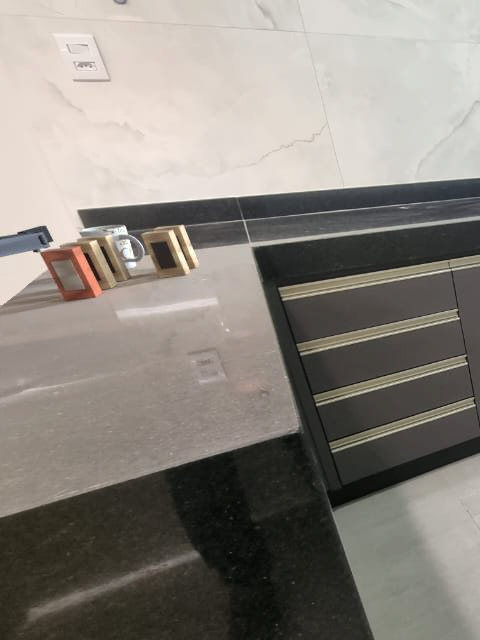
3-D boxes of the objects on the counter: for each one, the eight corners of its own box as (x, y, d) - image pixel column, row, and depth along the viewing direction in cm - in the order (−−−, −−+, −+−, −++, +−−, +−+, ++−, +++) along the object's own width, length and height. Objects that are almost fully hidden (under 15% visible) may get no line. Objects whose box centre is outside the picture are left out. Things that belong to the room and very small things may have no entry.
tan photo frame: (82, 292, 113) (58, 245, 109) (104, 280, 121) (83, 236, 117) (111, 288, 114) (89, 242, 110) (131, 277, 123) (111, 234, 119)
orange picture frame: (64, 301, 107) (38, 252, 103) (72, 297, 110) (47, 249, 105) (95, 297, 109) (71, 249, 104) (103, 293, 111) (79, 246, 107)
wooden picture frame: (159, 278, 121) (140, 234, 117) (175, 268, 130) (157, 227, 125) (185, 275, 123) (167, 231, 118) (199, 265, 131) (183, 224, 127)
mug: (120, 264, 136) (102, 225, 131) (167, 263, 135) (150, 223, 131) (88, 273, 128) (68, 232, 124) (138, 271, 128) (119, 230, 123)
